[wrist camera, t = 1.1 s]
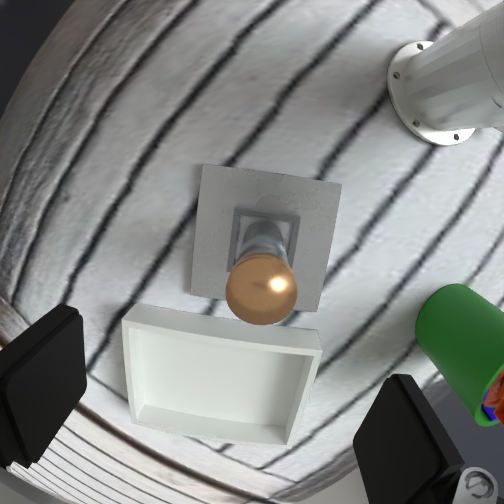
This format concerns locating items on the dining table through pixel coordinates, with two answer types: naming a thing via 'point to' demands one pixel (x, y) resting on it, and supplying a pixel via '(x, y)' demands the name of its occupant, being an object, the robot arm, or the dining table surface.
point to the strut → (261, 278)
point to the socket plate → (269, 211)
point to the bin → (218, 376)
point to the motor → (466, 348)
